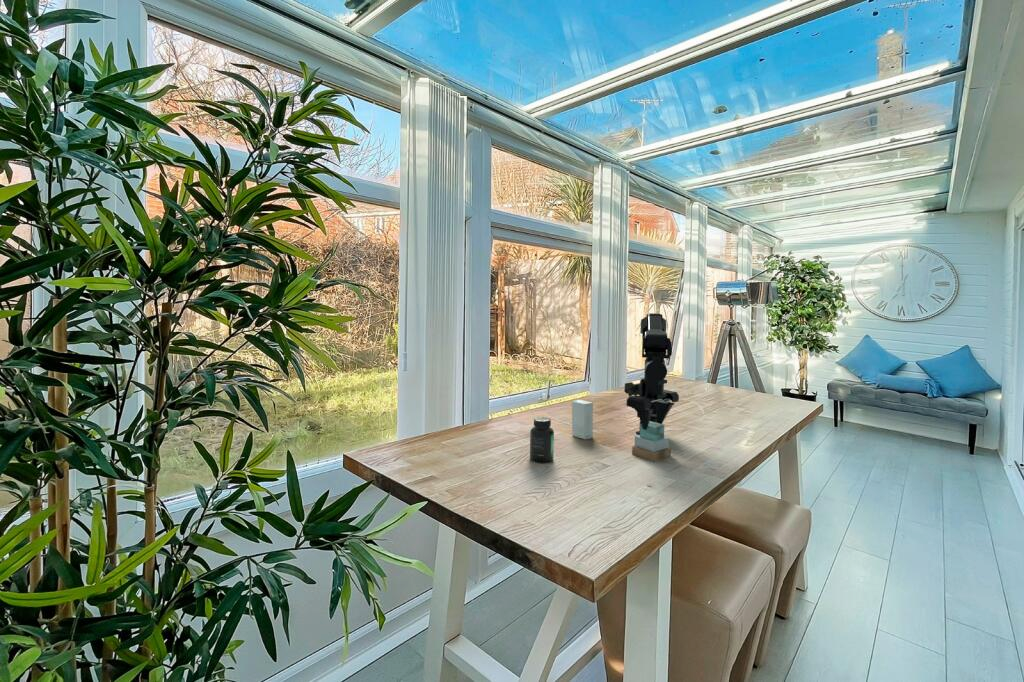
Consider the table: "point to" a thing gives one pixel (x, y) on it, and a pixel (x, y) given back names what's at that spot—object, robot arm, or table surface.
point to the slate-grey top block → (651, 443)
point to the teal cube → (652, 431)
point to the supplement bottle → (541, 441)
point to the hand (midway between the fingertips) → (651, 427)
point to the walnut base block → (651, 453)
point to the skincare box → (582, 419)
